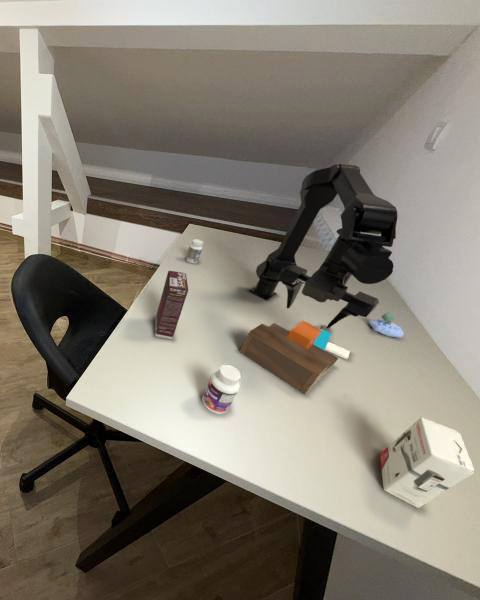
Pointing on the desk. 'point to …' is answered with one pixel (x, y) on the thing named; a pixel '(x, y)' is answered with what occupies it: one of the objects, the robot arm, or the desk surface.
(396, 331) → the figurine
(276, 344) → the step shelf
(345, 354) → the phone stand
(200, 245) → the pill bottle
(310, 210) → the robot arm
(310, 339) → the orange block
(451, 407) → the desk surface
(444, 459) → the ink box
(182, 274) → the supplement box
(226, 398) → the pill bottle
